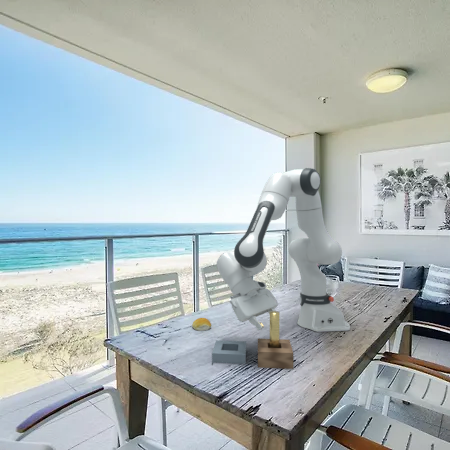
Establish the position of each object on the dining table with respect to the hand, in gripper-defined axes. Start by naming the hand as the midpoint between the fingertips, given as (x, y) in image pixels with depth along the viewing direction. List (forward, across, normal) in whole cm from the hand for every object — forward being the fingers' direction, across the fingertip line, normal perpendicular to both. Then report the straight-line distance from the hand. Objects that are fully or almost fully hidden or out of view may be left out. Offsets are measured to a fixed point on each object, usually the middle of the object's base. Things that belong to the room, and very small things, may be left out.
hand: (269, 325), depth 105 cm
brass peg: (+9, 0, +7) cm, 12 cm away
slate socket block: (+1, -7, +17) cm, 18 cm away
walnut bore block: (+10, 0, +7) cm, 13 cm away
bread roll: (-20, +9, +38) cm, 44 cm away
